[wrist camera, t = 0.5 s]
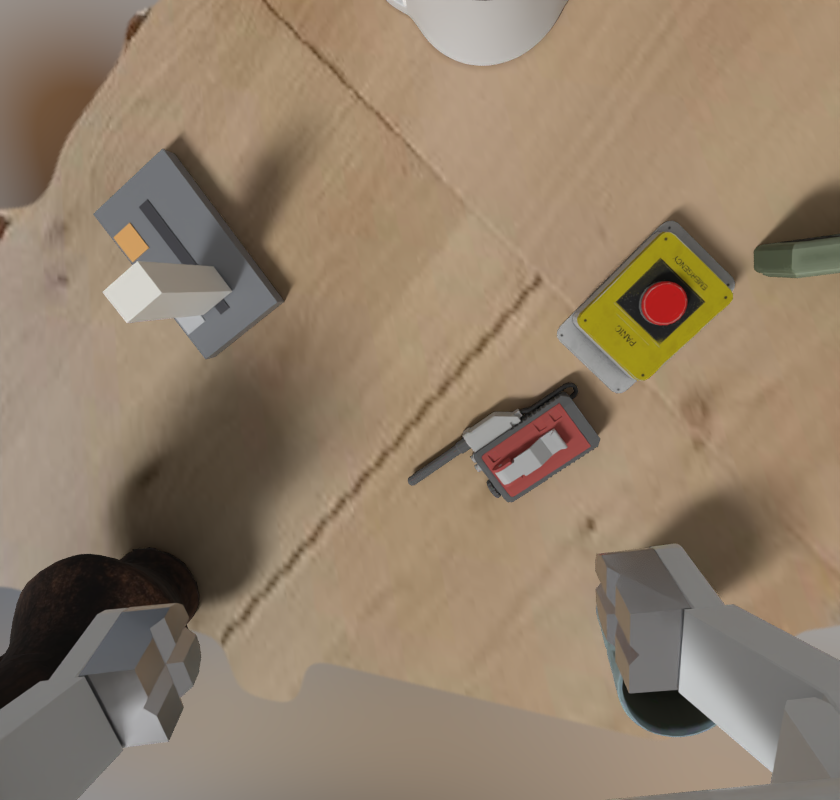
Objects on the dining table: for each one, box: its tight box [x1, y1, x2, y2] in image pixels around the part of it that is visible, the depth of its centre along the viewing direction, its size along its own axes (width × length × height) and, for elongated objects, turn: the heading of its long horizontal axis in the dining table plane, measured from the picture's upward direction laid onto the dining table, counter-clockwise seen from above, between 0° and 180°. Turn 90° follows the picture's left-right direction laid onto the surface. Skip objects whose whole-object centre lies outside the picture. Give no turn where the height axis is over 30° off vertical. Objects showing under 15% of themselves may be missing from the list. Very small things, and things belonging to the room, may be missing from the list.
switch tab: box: [103, 261, 232, 323], centre depth 47 cm, size 3×4×12 cm
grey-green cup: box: [596, 605, 716, 737], centre depth 52 cm, size 10×10×12 cm
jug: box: [0, 547, 199, 709], centre depth 50 cm, size 21×18×30 cm
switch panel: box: [94, 149, 284, 359], centre depth 54 cm, size 18×10×2 cm, turn 36°
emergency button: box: [557, 221, 735, 393], centre depth 50 cm, size 9×4×15 cm
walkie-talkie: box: [408, 383, 600, 502], centre depth 54 cm, size 9×4×20 cm
